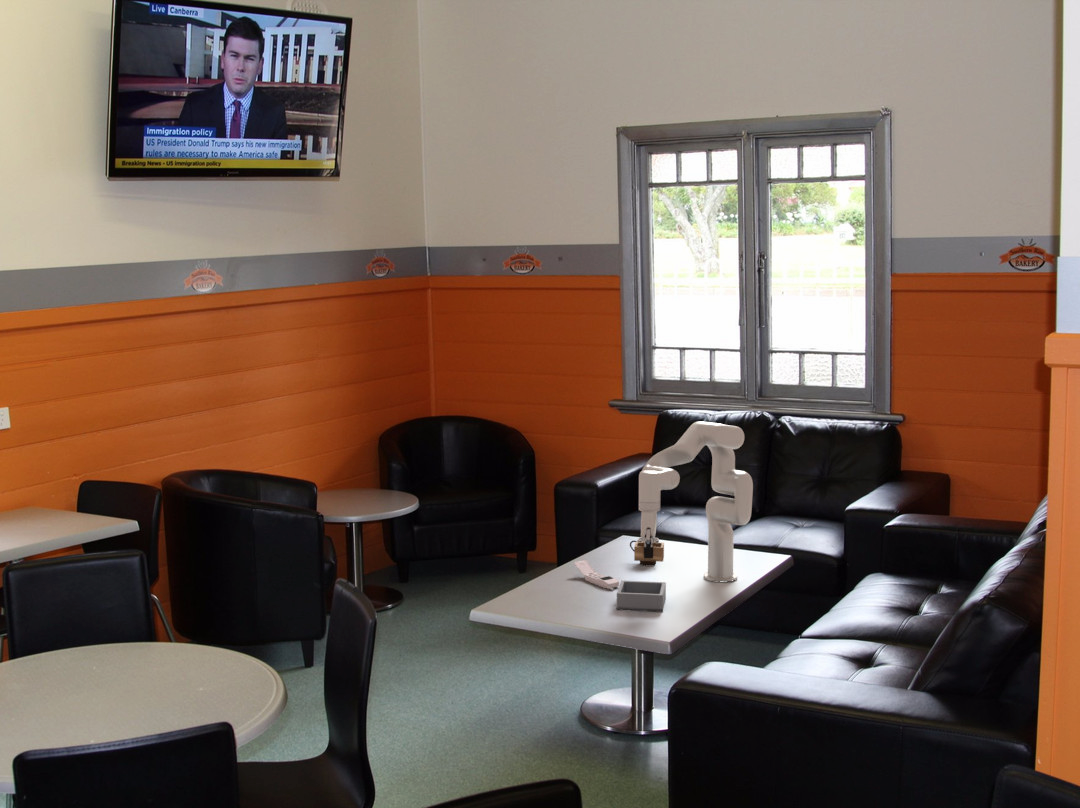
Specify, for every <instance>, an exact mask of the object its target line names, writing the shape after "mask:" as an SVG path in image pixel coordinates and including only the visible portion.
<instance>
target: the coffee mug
mask: <svg viewBox="0 0 1080 808" xmlns="http://www.w3.org/2000/svg"><path fill="white" fill-rule="evenodd" d="M659 541H660V539H659V538H658V537H655V538H654V541H653V542H656V543H660V542H659ZM636 542H645V537H644V538H643V539H641V536H640V537H638V538H637V539H636V540H631V541H630V542H629V547H630V548H631V549H630V550H632V551H633V552H634V548H633V547H632V545H633V544H632V543H636ZM655 564H656V565H657V561H639V565H641V566H644V565H645V566H646V565H653V566H656V565H655ZM646 567H647V566H646Z"/></svg>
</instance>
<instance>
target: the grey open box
mask: <svg viewBox="0 0 1080 808" xmlns="http://www.w3.org/2000/svg"><path fill="white" fill-rule="evenodd" d="M666 586H667V583H666V581H665V582H664V581H642V580H620V582H619V586H618V589H617V592H616V610H617V611H628V610H630V611H631V612H650V613H651V612H655V613H664V608H665V603H666V597H667V595H666V594H667V593H666V591H667V587H666ZM630 611H629V612H630Z"/></svg>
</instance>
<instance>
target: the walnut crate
mask: <svg viewBox="0 0 1080 808" xmlns="http://www.w3.org/2000/svg"><path fill="white" fill-rule="evenodd" d="M644 545H645V542H638V541H637V542H634V548H633V549H634V551H633V553H634V554H633V557H634V559H633V561H635V562H640V561H656V562H664V558H665V542H659V543H656V542H653V544H652V547H653V558H644Z"/></svg>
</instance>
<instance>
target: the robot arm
mask: <svg viewBox="0 0 1080 808" xmlns="http://www.w3.org/2000/svg"><path fill="white" fill-rule="evenodd" d="M744 441H745V433H744V431H743V429H742V428H741V427H739V426H736V425H728V424H723V423H717V422H710V421H695V422H693V423H692V424H691V425H690V426H689V427H688V428H687V429H686V431H685V432H684V433H683V434H682V436H680V438H679V439H678V440H677V442H676V443H675V444H674V445H671V446H669V447H667V448H665V449H663V450H661V451H659V452H657V453H656V454H654V455H652V456H651V458H649V460H648V461H647V462H646V463H645V464H644V466H643V467H642V469H641V471H639V474H638V511H640V513H641V515H640V537H641V539H643V538H644V537H645V545H644V558H653V547H652V544H653V541H654V538H656V533H657V521H658V519H657V518H658V517H657V513H658V512H660V511H661V491H663V490H665V491H667V490H673V489H675V488H677V487H678V485H679V484H680V479H681V477H680V474H679V472H678V471H677V470H675V469H673V468H671V467H675V466H679V465H680V466H681V465H684V464H687V463H691V462H692V461H693V460H695V458H696V456H697V455H699V453H700V452H701V450H702V449H703V448H704V447H705V446H707V448H708V449H709V450H710V452H711V457H712V459H711V460H712V461H711V462H712V465H711V488H712V491H714V492H716V493H719V494H723V495H730V496H734V498H733V497H732V498H731V497H727V496H718V495H717V496H712V497H711V498H709V499H708V500H707V502H706V505H705V515H706V519H707V529H708V530H707V531H708V532H707V533H708V536H707V571H706V572H705V573H704V574H703V578H704V580H706V579H708V580H711V581H710V582H713V581H718V582H717V583H721V582H720V581H732V580H735V579H736V578H737V579H738V575H737V574H736V573H734V540H735V539H734V530H733V526H732V525H736V526H745V525H747V524H748V523H749V522H750V520H751V517H752V510H753V509H752V508H753V493H754V492H753V490H754V483H753V478H752V476H751V475H750V474H749V473H748V472H747V471H745V470H739V469H736V455H735V451H734V450H737V449H739V448H740V447H742V445H744ZM737 579H736V580H737ZM708 580H707V581H708ZM736 580H735V581H736ZM732 582H733V581H732Z"/></svg>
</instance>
